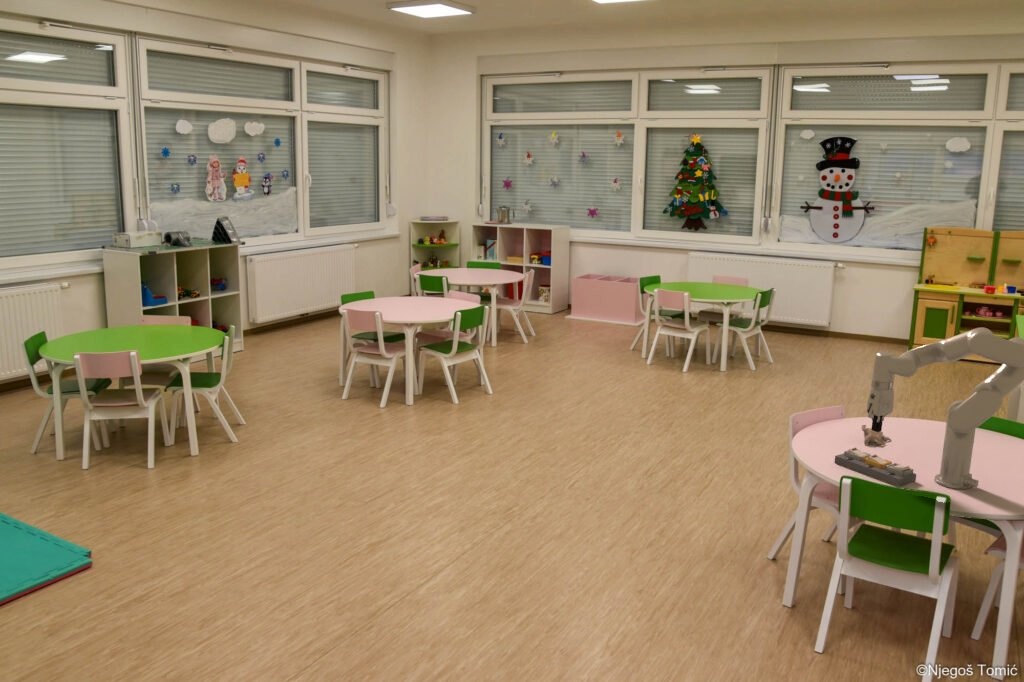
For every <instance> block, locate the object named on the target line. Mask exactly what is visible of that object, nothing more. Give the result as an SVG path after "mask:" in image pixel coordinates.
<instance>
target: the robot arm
mask: <svg viewBox="0 0 1024 682" xmlns="http://www.w3.org/2000/svg"><path fill="white" fill-rule="evenodd" d="M975 355H976V356H979V357H981V358H984V359H986V360H990V361H992V362H996V363H999V364H1001V365H1000V367H998V368H997V369H996V370H995V371H994V372H993V373H991V374H990V375H989V376H988V377H986V378H985V379H984V380H982V381H981V382H980V383H978V384H977V385H976V386H975V387H974V388H973V389H972V393H971V395H970V396H969V397H968V398H966V399H960V400H956V401H954V402H952V403H951V404H950V405H949V407H948V409H947V413H946V414H947V415H946V425H945V432H944V433H945V434H944V441H943V447H942V455H941V461H940V470H939V473H938V474H936V475H935V476H934V481H935V482H936V483H937V484H938V485H940V486H942V487H943V486H944V487H946V488H949V489H954V490H957V489H958V490H968V489H971V488H972V487H974V488H977V487H978V486H979V480H977V479H974V478H973V474H972V473H971V472H970V471H971V464H972V457H973V449H974V442H975V435H976V429H977V428H979V427H981V425H982V424H984V423H985V422H986V421H987V420H989V419H990V418H991V417H993V416H994V415H995V414H997V413H998V411H999V410H1000V409H1001V408H1002V406H1003V402H1004V399H1005V398H1006V397H1007V396H1008V395H1009V394H1010V393H1011V392H1012V391H1014V390H1015V389H1016V388H1017V387H1019V386H1020V385H1021V384H1022V383H1023V382H1024V338H1022V337H1011V338H1010V339H1006V338H1003V337H1000V336H997V335H994V333H993V332H992V331H991V330H990V329H989V328H986V327H976V328H972V329H971V330H967V331H965V332H962V333H960V334H957V335H954V336H951V337H948V338H944V339H942V340H938V341H935V342H931V343H929V344H925V345H922V346H918V347H916V348H912V349H910V350H908V351H905V352H903V353H902V354H900V355H899V356H897V355H896V354H894V353H892V352H889V351H878V352H877V353H876V354H875V356H874V361H873V367H872V368H873V370H872V377H871V385H870V391H869V393H868V399H867V405H866V413H867V414H868V415H867V418H869V419H871V421H872V422H871V423H872V424H871V429H872V430H873V431H876V432H882V429H883V422H884V420H885V418H886V416H888V415H890V414H892V413H893V410H894V401H895V400H894V399H895V396H894V395H895V390H894V380H895V375H896V376H900V377H904V378H905V377H906V378H909V377H913V376H915V375H916V373H917V372H918V371H919V369H920V368H924V367H925V366H929V365H933V364H936V363H947V364H948V363H954V362H956V361H960V360H961V359H965V358H967V357H971V356H975Z"/></svg>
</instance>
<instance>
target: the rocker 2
mask: <svg viewBox="0 0 1024 682" xmlns="http://www.w3.org/2000/svg"><path fill="white" fill-rule="evenodd" d="M890 467H892V468H894V469H897V470H902V471H903V470H907V469H910V468H911V467H910V465H904V464H903V465H902V464H899V465H893V466H890Z"/></svg>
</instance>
